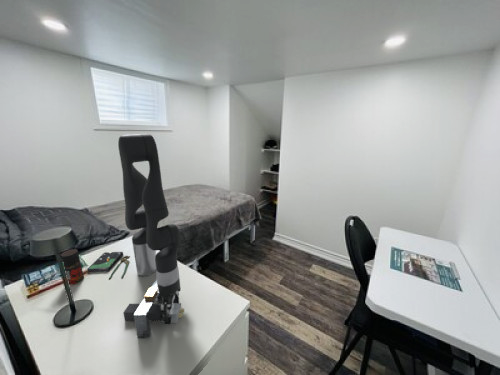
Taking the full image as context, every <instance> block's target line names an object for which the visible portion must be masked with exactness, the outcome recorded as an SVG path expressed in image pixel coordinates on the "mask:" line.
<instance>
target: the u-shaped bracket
mask: <svg viewBox="0 0 500 375" xmlns="http://www.w3.org/2000/svg"><path fill="white" fill-rule="evenodd" d="M162 299H163V296H162V295H161V294H160V293H159V291H158V285H157V278H155V281H154V282H153V284H152V286H151V287H149V288H148V289H147V291H146V293H145V294H144V298H143V299H142V300H141V302H140V303H139V304H140V306H139V307H138V309H137V310H136V312H135V313H134V321H133V322H134V326H135V331H136V332H135V333H136V336H137V337H136V338H137V339H150V337H151V335H152V331H151V330H152V329H151V324H150V321H149V316H148V313H149V311H150V309H151V308H152V306H153V304H155V302H156V301H157V303H163V300H162Z"/></svg>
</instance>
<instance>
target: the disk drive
mask: <svg viewBox="0 0 500 375" xmlns="http://www.w3.org/2000/svg"><path fill="white" fill-rule="evenodd" d="M122 257H124V252H123V251H114V252H113V251H112V252H106V251H105V252H103V253H102V254H101V255H100V256H99V257H98V258H97V259H96V260H94V262H93V263H92V264H91V265H89V267H88V268H87V273H107V272H108V273H109V272H110V271H111V270H112V269H113V268H114V267H115V266H116V265H117V263H118V262H119V261H121V258H122Z"/></svg>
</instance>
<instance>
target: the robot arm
mask: <svg viewBox="0 0 500 375" xmlns="http://www.w3.org/2000/svg"><path fill="white" fill-rule="evenodd" d="M157 146H158V145H157V143H156V140H155V138H154V137H153V135H152V134H149V133H138V134H137V133H136V134H134V133H133V134H123V135H120V136H119V138H118V153H119V159H120V164H121V169H122V170H121V171H122V185H123V186H122V188H123V190H122V191H123V197H124V206H125V207H124V208H125V212H124V221H125V226H126V228H127V229H128V230H130V231H135V230H139V229H140V230H139V231H137V232H136V233H134V234H133V235H132V237H131V241H132V242H131V243H132V249H133V253H134V259H135V267H136V273H137V275H138V276H140V277H147V276H149V275H152V274H154V273H155V272H156V273H155V275H156V276H155V277H156V279H157V285H158V291H159V293H160V294H161V295H162V296H163V299H162V300H163V302H161V303H158V304H159V317H160V320H164V321H163V323H164V325H171V324H172V323H171V316H170V312H171V309H172V308H173V303H180V299H179V298H180V297H179V296H180V292H181V281H180V280H181V279H180V278H181V277H180V270H179V266H178V265H179V264H178V256H177V254H178V250H179V246H180V240H181V231H180V229H179V227H178V225H176V224H175V223H169V224H166V225H163V226H160V227H158V225H159V222H160V221H162V220H164V219H166V218H168V217H169V215H170V213H169V209H168V205H167V202H166V198H165V194H164V189H163V188H164V187H163V183H162V174H161V173H162V172H161V165H160V157H159V152H158V150H159V149H158V147H157ZM140 162H142V163H143V162H148V164H149V165H148V166H149V172H148V176H147V177H146V176H145V175H143V173H142V172H140V171H139V170H138V169H137V168H136V167H135V166H134V163H140ZM142 206H143V207H142ZM141 207H142V208H141ZM156 251H158V252H156ZM167 304H170V307H168V306H167Z"/></svg>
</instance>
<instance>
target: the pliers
mask: <svg viewBox="0 0 500 375" xmlns="http://www.w3.org/2000/svg"><path fill="white" fill-rule="evenodd" d="M130 257H131V256H130V255H129V256H128V255H123V256H122V257H121V258H120V262H119V264H116V267H115V268H114V270H113V271H112V272H111V274H110V276H109V277H108V280H111V279H112V278H113V275H114V274H115V273H116V271H117V270H118V269H119V268H120V267H121V265H122V264H123V263H124V264H125V267H124V270H123V273H122V274H121V276H120V278H121V280H123V279H124V276H126V273H127V271H128V268H129V264H130V260H129V259H130Z"/></svg>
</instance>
